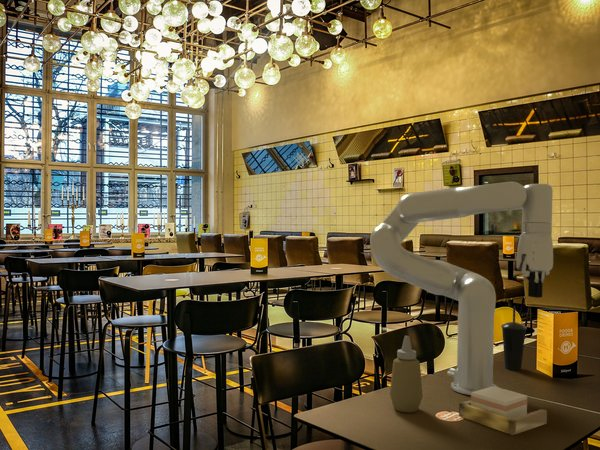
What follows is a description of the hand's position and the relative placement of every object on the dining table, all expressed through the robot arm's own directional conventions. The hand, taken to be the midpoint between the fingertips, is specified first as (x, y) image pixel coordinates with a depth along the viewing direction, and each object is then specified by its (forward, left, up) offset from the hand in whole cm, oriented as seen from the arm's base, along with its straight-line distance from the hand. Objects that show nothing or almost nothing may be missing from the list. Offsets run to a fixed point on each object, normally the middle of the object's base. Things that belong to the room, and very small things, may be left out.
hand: (535, 296), depth 150 cm
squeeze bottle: (-10, -39, -27) cm, 48 cm away
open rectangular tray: (+7, -24, -26) cm, 37 cm away
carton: (+7, -25, -27) cm, 37 cm away
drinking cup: (-19, +19, -27) cm, 38 cm away
